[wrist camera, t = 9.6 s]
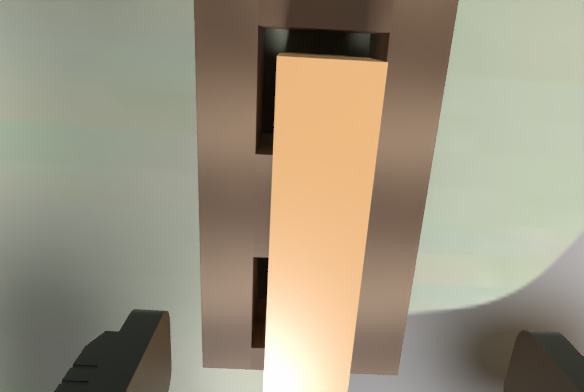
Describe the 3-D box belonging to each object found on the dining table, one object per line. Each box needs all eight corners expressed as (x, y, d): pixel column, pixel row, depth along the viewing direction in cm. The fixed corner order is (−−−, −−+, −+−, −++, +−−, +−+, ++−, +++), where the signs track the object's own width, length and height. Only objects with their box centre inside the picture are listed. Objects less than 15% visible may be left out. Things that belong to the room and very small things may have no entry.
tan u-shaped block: (282, 49, 19) (277, 55, 12) (350, 53, 19) (388, 62, 12) (272, 286, 23) (262, 404, 16) (328, 289, 23) (345, 408, 16)
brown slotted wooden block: (381, 322, 24) (397, 375, 20) (216, 315, 24) (202, 367, 20) (425, 6, 19) (458, -2, 15) (213, -5, 19) (193, -17, 15)
